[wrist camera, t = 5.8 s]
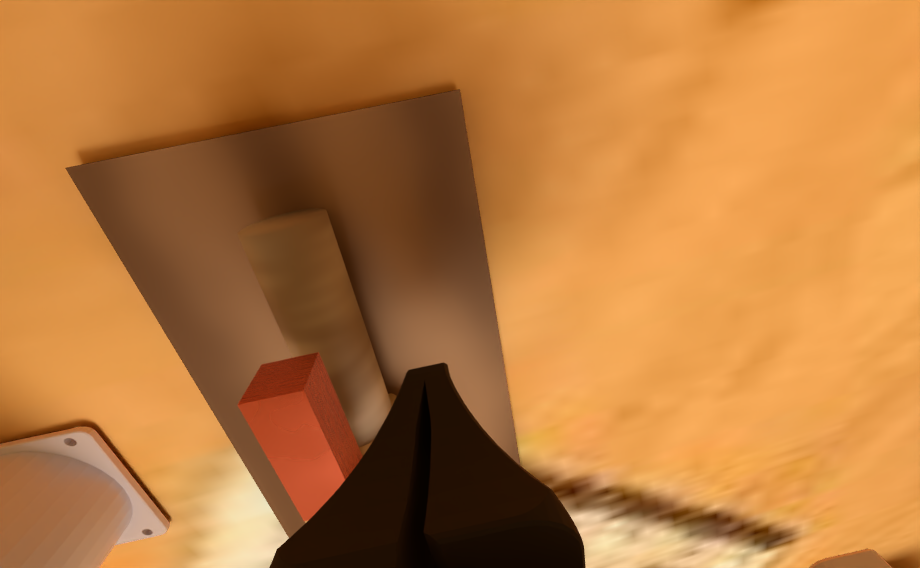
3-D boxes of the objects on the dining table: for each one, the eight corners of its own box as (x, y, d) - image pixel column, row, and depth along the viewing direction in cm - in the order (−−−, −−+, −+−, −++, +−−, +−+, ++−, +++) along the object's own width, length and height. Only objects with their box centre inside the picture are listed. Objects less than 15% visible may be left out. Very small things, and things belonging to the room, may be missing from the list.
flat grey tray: (355, 631, 29) (344, 724, 24) (83, 164, 14) (-65, 190, 10) (539, 589, 29) (561, 674, 25) (457, 90, 14) (475, 82, 10)
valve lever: (407, 551, 17) (406, 610, 15) (367, 560, 17) (361, 621, 15) (321, 344, 12) (303, 390, 10) (266, 356, 12) (237, 405, 10)
